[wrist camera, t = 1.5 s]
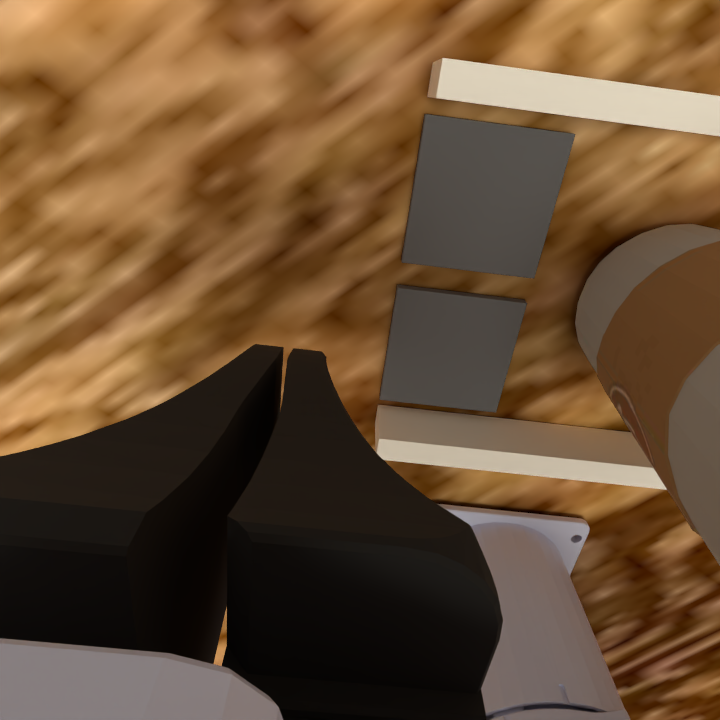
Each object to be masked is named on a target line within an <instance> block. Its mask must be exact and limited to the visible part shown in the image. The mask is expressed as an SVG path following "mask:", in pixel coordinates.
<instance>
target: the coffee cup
mask: <svg viewBox="0 0 720 720" xmlns="http://www.w3.org/2000/svg"><path fill="white" fill-rule="evenodd" d="M575 326H576V332H577V337H578V342H579V344H580V346H581V348H582V350H583V352H584V353H585V355H586V357H587V359H588V360H589V362H590V363H591V365H592V367H593V368H594V370H595V371H596V373H597V376H598V378H599V380H600V382H601V384H602V386H603V388H604V390H605V392H606V393H607V395H608V396H609V398H610V400H611V401H612V403H613V404H614V406H615V408H616V409H617V411H618V412H619V414H620V416H621V417H622V419H623V420H624V422H625V424H626V425H627V427H628V428H629V430H630V431H631V433H632V435H633V436H634V438H635V439H636V441H637V443H638V444H639V446H640V447H641V449H642V451H643V452H644V454H645V455H646V457H647V459H648V460H649V462H650V463H651V465H652V466H653V468H654V470H655V471H656V473H657V474H658V476H659V478H660V479H661V481H662V482H663V484H664V486H665V487H666V489H667V490H668V492H669V494H670V495H671V497H672V498H673V500H674V501H675V503H676V505H677V506H678V508H679V509H680V511H681V513H682V514H683V516H684V517H685V519H686V521H687V522H688V524H689V525H690V527H691V529H692V530H693V531H695V532H696V533H697V534H699V535H700V536H701V537H702V539H703V540H704V542H705V543H706V545H707V546H708V548H709V550H710V551H711V553H712V554H713V556H714V557H715V559H716V560H717V562H718V564H719V565H720V230H718V229H714V228H710V227H705V226H700V225H695V224H678V225H666V226H663V227H660V228H656V229H653V230H650V231H647V232H644V233H641V234H640V235H638V236H635V237H634V238H632V239H630V240H628V241H627V242H625V243H623V244H621V245H620V246H618V247H616V248H615V249H614V250H613V251H612V252H611V253H609V254H608V255H607V256H606V257H605V258H604V259H603V260H602V261H600V262H599V264H598V265H597V267H596V268H595V269H594V271H593V272H592V273H591V275H590V276H589V278H588V279H587V281H586V283H585V286H584V288H583V291H582V293H581V296H580V298H579V301H578V305H577V313H576V320H575Z"/></svg>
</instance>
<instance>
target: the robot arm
mask: <svg viewBox="0 0 720 720" xmlns="http://www.w3.org/2000/svg"><path fill="white" fill-rule="evenodd" d="M283 349H284V347H277V346H268V345H259V344H255V345H253V346H252V347H250V348H249V349H247V350H246V351H245V352H243V353H242V354H240V355H239V356H238V357H236V358H235V359H234V360H232V361H231V362H229V363H228V364H226V365H225V366H223V367H222V368H221V369H219V370H218V371H216V372H215V373H213V374H212V375H210V376H209V377H207V378H206V379H204V380H202V381H201V382H199V383H197V384H195V385H194V386H192V387H190V388H189V389H187V390H185V391H184V392H182V393H180V394H179V395H177V396H175V397H173V398H171V399H169V400H168V401H166V402H164V403H162V404H160V405H158V406H155V407H153V408H151V409H149V410H147V411H144V412H142V413H140V414H138V415H136V416H133V417H131V418H128V419H126V420H123V421H120V422H118V423H115V424H112V425H109V426H106V427H104V428H101V429H98V430H95V431H93V432H90V433H87V434H84V435H81V436H78V437H75V438H71V439H68V440H64V441H61V442H57V443H54V444H50V445H47V446H43V447H39V448H35V449H31V450H27V451H23V452H19V453H14V454H10V455H6V456H1V457H0V720H630V717H629V715H628V713H627V711H625V708H624V706H623V703H622V701H621V699H620V696H619V694H618V691H617V689H616V687H615V684H614V682H613V679H612V677H611V674H610V672H609V670H608V667H607V665H606V662H605V660H604V658H603V655H602V653H601V650H600V648H599V646H598V643H597V641H596V638H595V636H594V634H593V631H592V629H591V626H590V624H589V621H588V619H587V617H586V614H585V612H584V609H583V607H582V605H581V602H580V600H579V597H578V595H577V593H576V590H575V588H574V585H573V583H572V580H571V578H570V574H571V572H572V570H573V568H574V565H575V563H576V561H577V558H578V556H579V554H580V552H581V549H582V547H583V545H584V542H585V540H586V538H587V536H588V533H589V530H590V528H589V526H588V524H587V522H586V521H585V520H584V519H581V518H572V517H562V516H552V515H542V514H532V513H523V512H513V511H503V510H493V509H483V508H474V507H464V506H454V505H444V504H436V503H435V502H433V501H432V500H430V499H429V498H427V497H426V496H425V495H423V494H422V493H421V492H419V491H418V490H417V489H416V488H414V487H413V486H412V485H410V484H409V483H408V482H407V481H405V480H404V479H403V478H402V477H401V476H400V475H398V474H397V473H396V472H395V471H394V470H393V469H392V468H391V467H390V466H389V465H388V464H387V463H386V462H385V461H384V460H383V459H382V458H381V457H380V456H379V455H378V454H377V453H376V452H375V451H374V450H373V448H372V447H371V446H370V445H369V443H368V442H367V441H366V440H365V438H364V437H363V436H362V434H361V433H360V432H359V430H358V429H357V427H356V426H355V424H354V423H353V421H352V419H351V418H350V416H349V414H348V413H347V411H346V409H345V408H344V406H343V404H342V402H341V400H340V398H339V396H338V394H337V391H336V389H335V387H334V385H333V382H332V380H331V377H330V374H329V371H328V368H327V363H326V356H325V355H324V354H323V352H321V351H312V350H303V349H293V350H292V352H291V353H290V355H289V357H288V360H287V368H286V376H285V384H284V393H283V401H282V406H281V411H280V401H281V384H282V366H283ZM574 535H577V536H574ZM572 536H574V537H572ZM226 606H227V647H226V651H225V655H224V659H223V663H222V666H218V665H215V664H213V663H214V659H215V654H216V650H217V645H218V641H219V637H220V632H221V628H222V624H223V619H224V615H225V611H226Z"/></svg>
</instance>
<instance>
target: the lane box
mask: <svg viewBox="0 0 720 720" xmlns="http://www.w3.org/2000/svg"><path fill="white" fill-rule="evenodd" d="M427 97H430V98H438V99H445V100H453V101H460V102H467V103H475V104H482V105H490V106H497V107H504V108H512V109H519V110H527V111H534V112H542V113H549V114H556V115H564V116H571V117H579V118H586V119H593V120H601V121H608V122H616V123H623V124H630V125H638V126H645V127H653V128H660V129H667V130H675V131H682V132H690V133H697V134H704V135H712V136H719V137H720V96H715V95H708V94H701V93H693V92H686V91H679V90H672V89H664V88H657V87H650V86H643V85H636V84H628V83H621V82H614V81H607V80H599V79H592V78H585V77H578V76H571V75H563V74H556V73H549V72H542V71H534V70H527V69H520V68H513V67H506V66H498V65H491V64H484V63H477V62H469V61H462V60H455V59H448V58H441V59H439V60H437V61H435V62H433V65H432V71H431V77H430V83H429V90H428V96H427ZM375 446H376V453H377V454H378V455H379V456H380V457H381V458H382V459H383V460H390V461H399V462H409V463H418V464H428V465H437V466H447V467H456V468H466V469H475V470H485V471H494V472H504V473H513V474H523V475H532V476H542V477H551V478H561V479H570V480H580V481H589V482H599V483H608V484H618V485H627V486H637V487H646V488H656V489H665V490H667V489H666V487H665V486H664V484H663V482H662V481H661V479H660V478H659V476H658V474H657V473H656V471H655V470H654V468H653V466H652V465H651V463H650V462H649V460H648V459H647V457H646V455H645V454H644V452H643V451H642V449H641V447H640V446H639V444H638V443H637V441H636V439H635V438H634V436H633V435H632V433H631V432H624V431H614V430H605V429H596V428H587V427H578V426H569V425H560V424H551V423H542V422H532V421H523V420H514V419H505V418H496V417H487V416H478V415H469V414H459V413H450V412H441V411H432V410H423V409H414V408H405V407H396V406H387V405H378V408H377V415H376V421H375Z"/></svg>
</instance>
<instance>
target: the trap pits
mask: <svg viewBox="0 0 720 720" xmlns="http://www.w3.org/2000/svg"><path fill="white" fill-rule="evenodd" d="M574 137H575V134H572V133H565V132H557V131H550V130H542V129H535V128H527V127H520V126H512V125H505V124H497V123H490V122H482V121H475V120H467V119H460V118H453V117H445V116H438V115H430V114H425V115H424V121H423V127H422V133H421V140H420V146H419V152H418V158H417V165H416V171H415V177H414V183H413V190H412V196H411V202H410V208H409V215H408V221H407V227H406V233H405V240H404V246H403V252H402V258H401V260H402V263H411V264H419V265H427V266H435V267H444V268H452V269H460V270H468V271H476V272H485V273H493V274H501V275H509V276H518V277H526V278H534V277H535V274H536V270H537V267H538V263H539V260H540V256H541V253H542V249H543V246H544V242H545V239H546V235H547V232H548V228H549V225H550V221H551V218H552V214H553V211H554V207H555V204H556V200H557V197H558V193H559V190H560V186H561V183H562V179H563V176H564V172H565V169H566V165H567V162H568V158H569V155H570V151H571V148H572V144H573V141H574ZM526 305H527V303H526V301H525V300H523V299H514V298H506V297H498V296H489V295H481V294H473V293H464V292H456V291H448V290H439V289H431V288H422V287H414V286H406V285H397V290H396V296H395V302H394V308H393V315H392V321H391V327H390V333H389V340H388V346H387V352H386V358H385V365H384V371H383V377H382V383H381V390H380V400H387V401H396V402H406V403H415V404H424V405H433V406H442V407H451V408H460V409H469V410H478V411H487V412H496V410H497V407H498V403H499V400H500V396H501V393H502V389H503V386H504V382H505V379H506V375H507V372H508V368H509V365H510V361H511V358H512V354H513V351H514V347H515V344H516V340H517V337H518V333H519V330H520V326H521V323H522V319H523V316H524V312H525V309H526Z"/></svg>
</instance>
